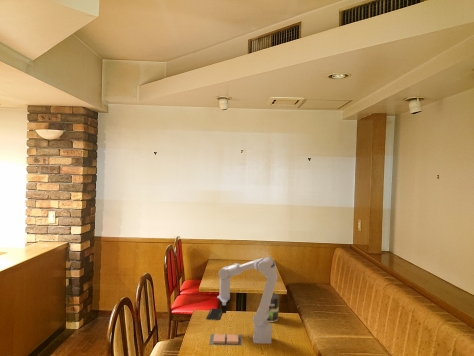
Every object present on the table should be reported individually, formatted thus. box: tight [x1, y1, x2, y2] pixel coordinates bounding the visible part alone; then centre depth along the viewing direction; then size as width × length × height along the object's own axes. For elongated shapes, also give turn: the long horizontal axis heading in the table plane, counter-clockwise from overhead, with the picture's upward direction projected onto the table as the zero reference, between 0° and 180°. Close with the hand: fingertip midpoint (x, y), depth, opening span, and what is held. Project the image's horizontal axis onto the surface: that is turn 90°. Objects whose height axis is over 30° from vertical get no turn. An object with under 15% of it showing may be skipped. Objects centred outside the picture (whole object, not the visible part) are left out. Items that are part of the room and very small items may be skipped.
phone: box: [205, 308, 223, 321], centre depth 207 cm, size 8×1×15 cm
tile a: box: [226, 333, 239, 344], centre depth 176 cm, size 6×1×7 cm
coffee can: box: [267, 292, 280, 323], centre depth 204 cm, size 10×10×14 cm
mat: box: [208, 333, 243, 346], centre depth 177 cm, size 17×11×1 cm, turn 91°
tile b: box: [213, 333, 225, 344], centre depth 176 cm, size 6×1×7 cm
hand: (224, 312), depth 187 cm, fingers closed
